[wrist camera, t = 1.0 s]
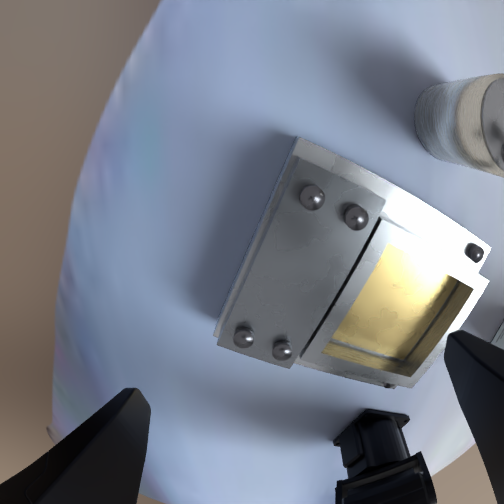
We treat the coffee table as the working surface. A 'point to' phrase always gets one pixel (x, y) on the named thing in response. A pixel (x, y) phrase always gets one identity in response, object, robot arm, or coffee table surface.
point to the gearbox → (350, 275)
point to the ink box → (499, 338)
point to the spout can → (464, 122)
